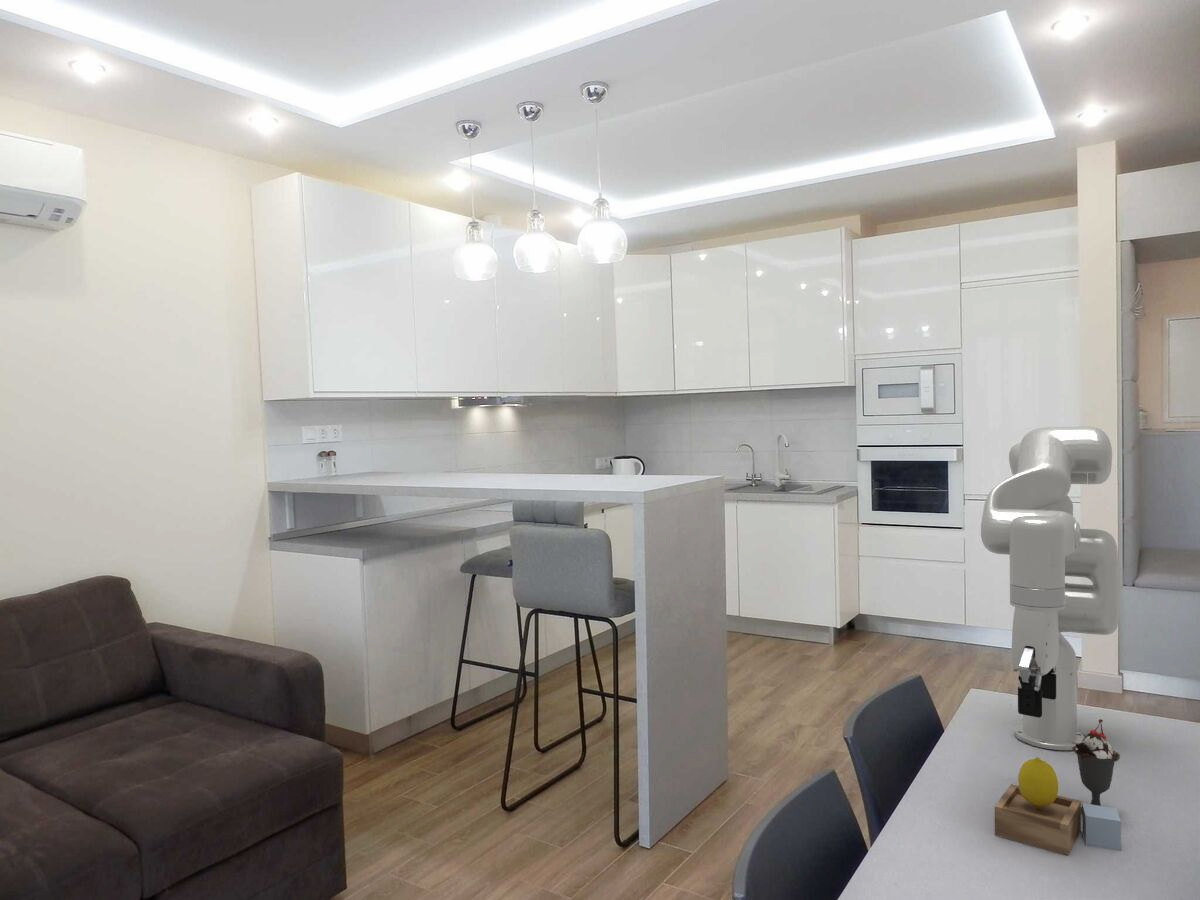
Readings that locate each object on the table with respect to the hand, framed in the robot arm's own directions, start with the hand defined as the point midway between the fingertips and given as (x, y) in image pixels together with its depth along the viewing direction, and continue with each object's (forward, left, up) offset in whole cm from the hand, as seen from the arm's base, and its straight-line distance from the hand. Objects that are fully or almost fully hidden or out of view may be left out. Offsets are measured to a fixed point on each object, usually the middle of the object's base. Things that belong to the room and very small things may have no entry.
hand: (1037, 706), depth 127 cm
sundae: (-12, +6, -20) cm, 24 cm away
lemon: (0, 0, -16) cm, 16 cm away
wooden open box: (0, 0, -20) cm, 20 cm away
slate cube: (-3, +8, -20) cm, 22 cm away
